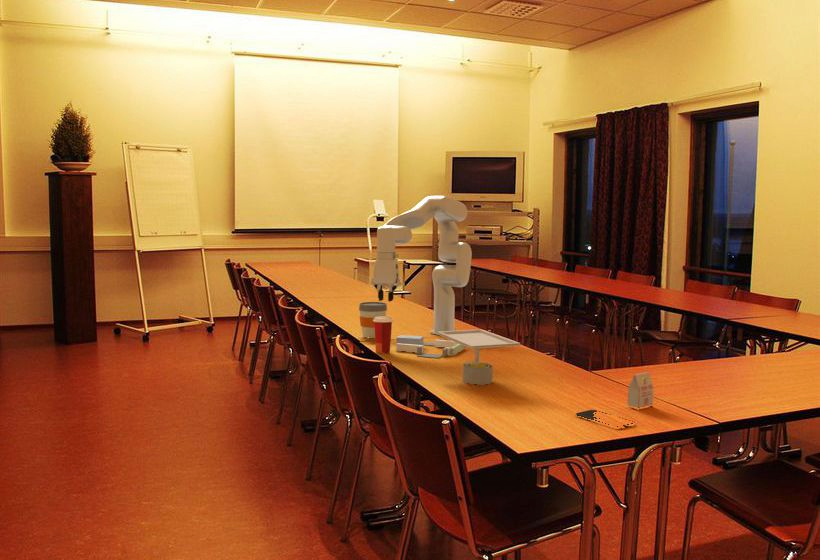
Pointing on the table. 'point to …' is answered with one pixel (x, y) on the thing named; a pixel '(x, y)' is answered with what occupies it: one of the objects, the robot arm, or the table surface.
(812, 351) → the table surface
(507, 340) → the solar panel model
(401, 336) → the block
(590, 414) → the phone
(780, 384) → the table surface
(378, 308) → the reusable coffee cup
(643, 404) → the grey tall gabled block
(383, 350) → the paper cup
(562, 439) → the table surface
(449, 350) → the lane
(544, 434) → the table surface
